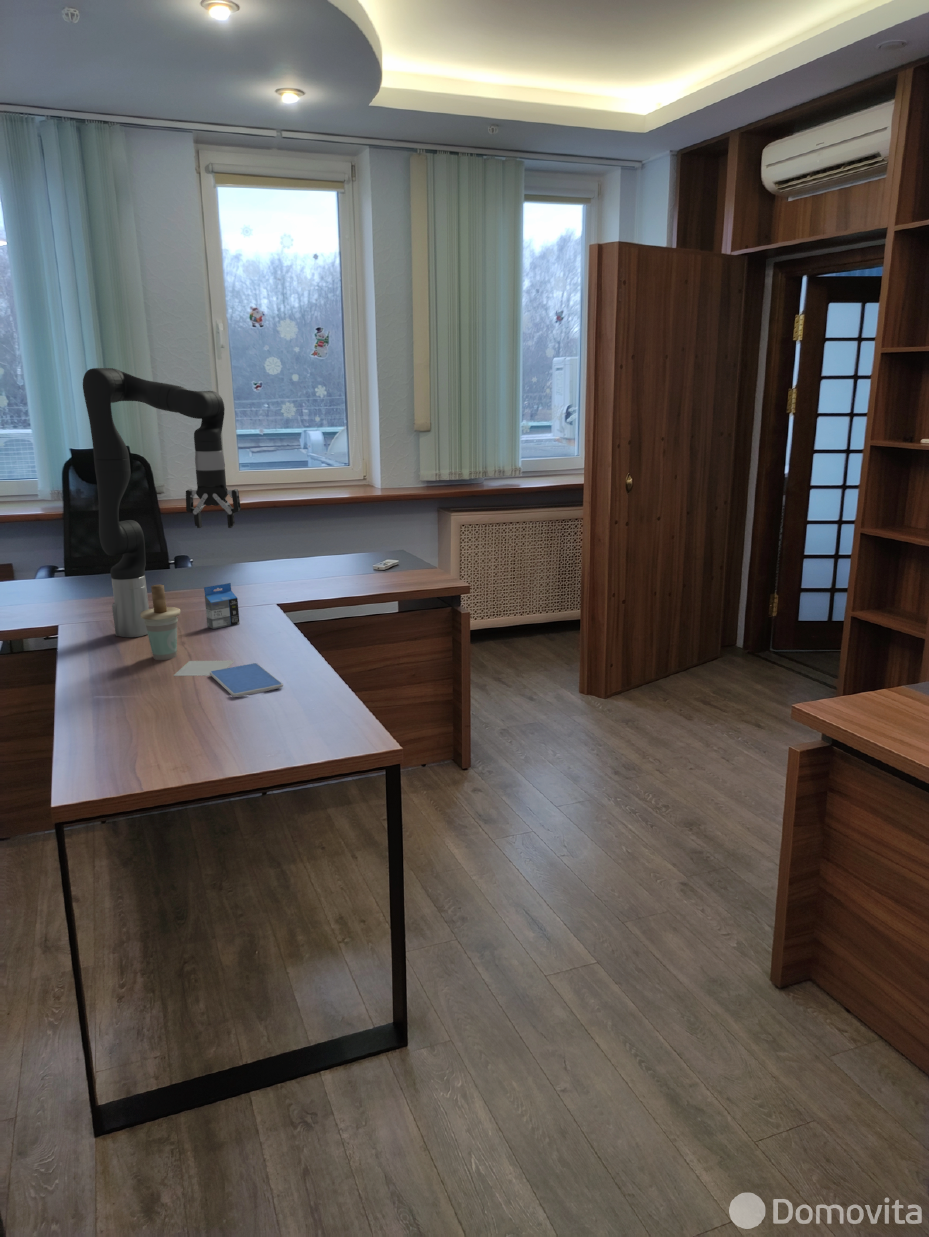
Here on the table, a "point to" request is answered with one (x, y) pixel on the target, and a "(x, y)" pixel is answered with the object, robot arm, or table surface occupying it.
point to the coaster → (202, 668)
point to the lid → (159, 606)
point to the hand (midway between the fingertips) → (215, 527)
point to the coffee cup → (163, 637)
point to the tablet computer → (246, 679)
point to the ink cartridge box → (221, 606)
